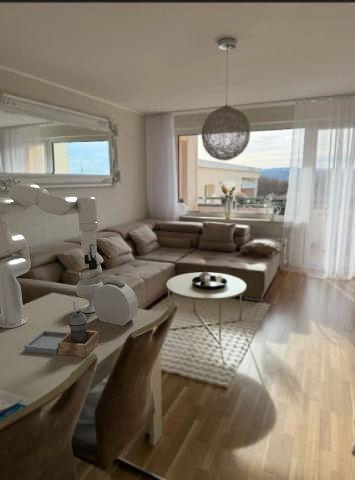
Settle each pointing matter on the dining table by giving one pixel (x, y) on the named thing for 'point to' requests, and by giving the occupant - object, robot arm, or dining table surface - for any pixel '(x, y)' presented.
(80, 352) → the holder
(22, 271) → the robot arm
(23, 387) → the dining table surface
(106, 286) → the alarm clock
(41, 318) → the dining table surface
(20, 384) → the dining table surface
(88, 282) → the chalice
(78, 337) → the beverage cup
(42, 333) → the tray
